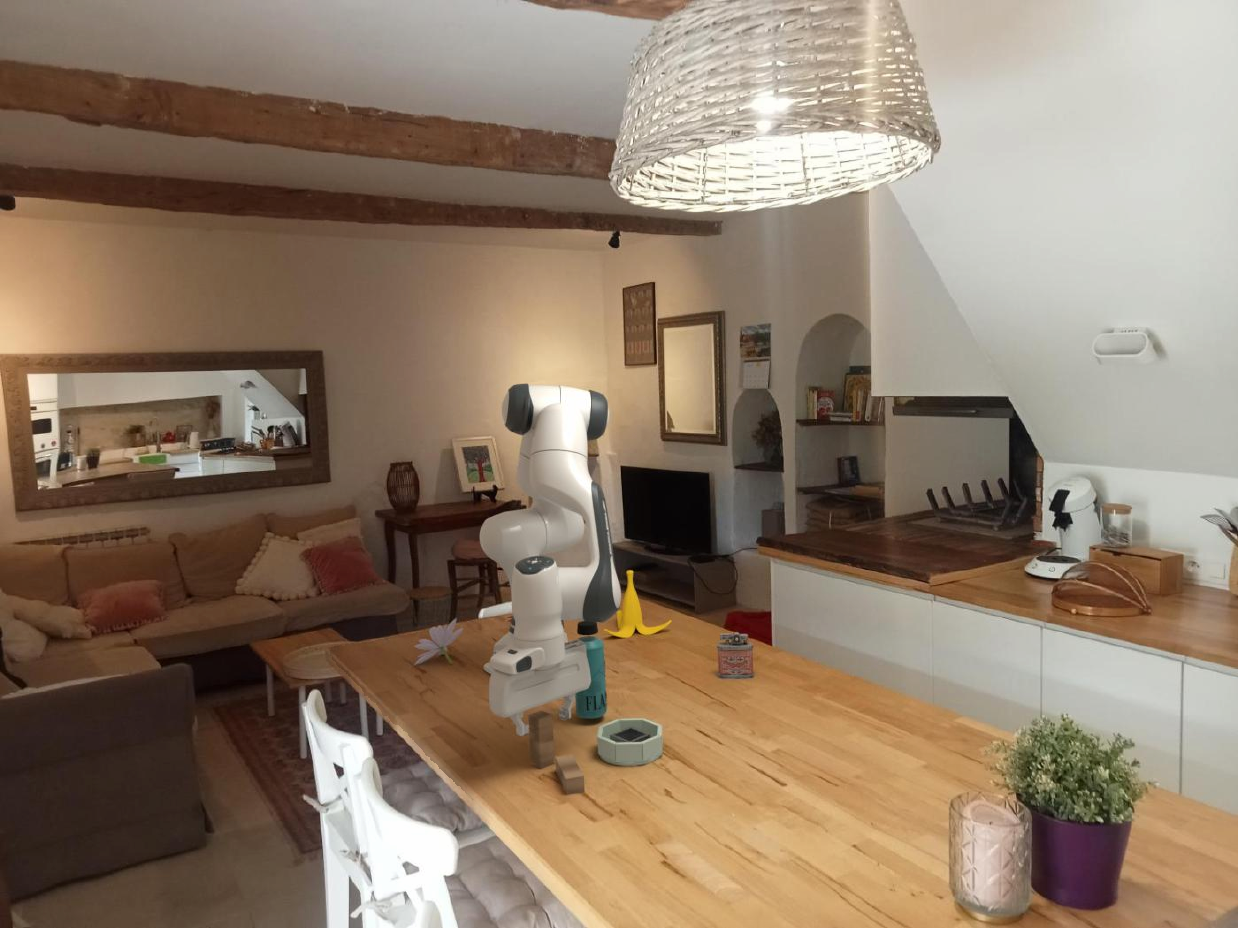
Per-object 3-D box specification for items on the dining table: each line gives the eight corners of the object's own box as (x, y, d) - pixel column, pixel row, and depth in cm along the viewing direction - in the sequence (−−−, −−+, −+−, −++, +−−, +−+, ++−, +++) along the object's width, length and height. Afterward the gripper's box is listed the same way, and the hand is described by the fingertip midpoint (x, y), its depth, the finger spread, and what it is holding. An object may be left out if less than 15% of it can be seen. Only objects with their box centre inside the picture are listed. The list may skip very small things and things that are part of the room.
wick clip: (610, 748, 163) (609, 734, 162) (631, 739, 166) (631, 726, 166) (629, 756, 159) (629, 742, 158) (650, 747, 162) (650, 734, 162)
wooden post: (531, 763, 159) (528, 715, 158) (544, 758, 161) (541, 710, 160) (541, 768, 157) (538, 719, 156) (554, 763, 159) (552, 714, 158)
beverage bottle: (584, 728, 174) (579, 628, 172) (570, 717, 180) (565, 620, 178) (613, 721, 177) (609, 623, 175) (599, 710, 183) (594, 615, 181)
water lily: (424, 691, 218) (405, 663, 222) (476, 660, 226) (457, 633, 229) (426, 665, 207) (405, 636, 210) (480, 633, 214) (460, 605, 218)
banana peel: (620, 621, 248) (617, 562, 246) (674, 632, 236) (671, 570, 234) (578, 636, 236) (575, 574, 234) (633, 648, 223) (631, 583, 222)
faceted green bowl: (586, 752, 163) (585, 731, 162) (632, 733, 171) (631, 713, 170) (628, 772, 154) (627, 749, 154) (676, 751, 162) (675, 729, 161)
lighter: (753, 673, 201) (752, 630, 200) (754, 679, 198) (753, 635, 197) (717, 674, 202) (716, 631, 201) (717, 679, 198) (716, 635, 197)
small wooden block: (556, 773, 156) (555, 756, 155) (572, 770, 156) (572, 754, 156) (567, 796, 147) (566, 778, 147) (584, 793, 148) (583, 775, 148)
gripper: (573, 633, 166) (578, 705, 167) (481, 660, 152) (486, 738, 154) (596, 639, 161) (600, 713, 163) (503, 668, 148) (508, 748, 149)
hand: (544, 726), depth 158 cm, fingers open, 8 cm apart
